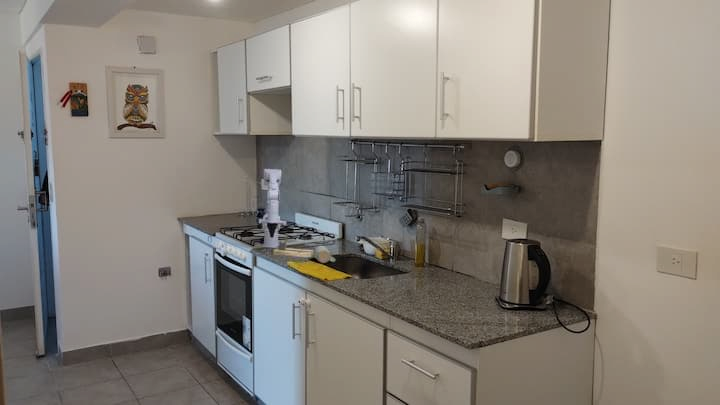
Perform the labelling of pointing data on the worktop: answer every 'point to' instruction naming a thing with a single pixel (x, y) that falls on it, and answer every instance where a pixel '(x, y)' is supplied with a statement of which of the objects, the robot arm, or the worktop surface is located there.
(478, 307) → the worktop surface
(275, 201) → the robot arm
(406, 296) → the worktop surface
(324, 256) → the ceramic mug
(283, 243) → the fader knob
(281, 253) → the fader console
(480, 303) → the worktop surface
